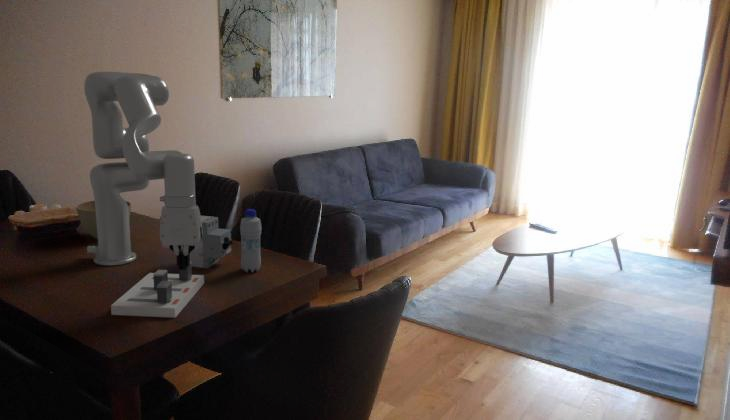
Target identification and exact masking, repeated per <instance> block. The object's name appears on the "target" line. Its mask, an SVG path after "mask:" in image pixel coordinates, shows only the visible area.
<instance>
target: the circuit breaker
mask: <svg viewBox="0 0 730 420" xmlns="http://www.w3.org/2000/svg"><path fill="white" fill-rule="evenodd" d="M200 216H201V221H202V230H203V239H202V242H203V247H201V248H198V249H193V250H192V251H191V252H190V261H192V268H193V267H195V268H204V269H209V268H210V267H212V266H213V265H215V264H216V263H218V262H220V259H222V258H223V257H225V256H226V255H228V254H229V253H231V252H232V245H233V244H234V240H232V230H231V229H227V228H219V217H218V216H210V215H209V216H207V215H200Z"/></svg>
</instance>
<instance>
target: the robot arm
mask: <svg viewBox="0 0 730 420" xmlns="http://www.w3.org/2000/svg"><path fill="white" fill-rule="evenodd" d="M83 87H84V95H85V98H86V101H87V103H88V107H89V109H90V110H89V111H90V114H91V123H92V143H93V151H94V153H95V155H96V156H97V157H98V158H100V159H104V160H117V159H119V160H120V159H125V161H122V162H121V161H118V162H106V163H105V162H104V163H101V164H99V163H98V164H97V165H95V166H93V167H92V168H91V169H90V173H89V180H90V186H91V188H92V193H93V198H94V199H93V200H94V201H95V209H96V222H97V236H98V239H97V246H94V245H87V247H86V253H87V254H90V255H91V254H94V255H95V256H94V257H93V262H94V263H95V264H96V265H100V266H120V265H125V264H129V263H131V262H132V263H133V262H134V261H135V260H137V253H136V252H133V251H132V245H131V243H132V242H131V228H130V217H129V208H128V205H127V203H126V201H127V200H125V199H124V198H123V197H122V196H121V194H122V193H128V192H136V191H143V190H145V189H147V188H148V186H149V185H150V181H156V180H164V195H162V196H159V202H161V203H164V206H162V207H161V212H160V221H159V222H160V223H159V225H160V226H159V240H160V243H161V247H162V248H166V249H169V250H171V252H173V253H174V255H175V256H176V266H178V271H179V270H186V269H187V268H188V266H189V265H190V252H191V251H192V250H193V249H198V248H201V247H203V242H202V239H203V230H202V221H201V216H202V215H201V212H200V208H199V205H197V203H196V202H197V200H196V199H197V198H196V197H197V196H196V178H195V175H196V174H195V159H194V157H193V155H191V154H189V153H184V152H181V151H179V150H177V149H176V150H175V149H174V150H168V149H167V150H151V151H150V144H149V138H148V136H147V135H149V134H151V133H152V132H154V131H155V130H157V129H158V127H159V126H160V125H161V122H162V117H161V115H160V113H159V111H158V109H157V106H159V107H160V106H164V105H165V104H167V102H168V100H169V98H170V92H169V88H168V85H167V83H166V82H165V80H163V78H162V77H160V76H158V75H151V74H146V73H140V72H139V73H136V72H121V71H120V72H119V71H95V72H92V73H91V72H90V73H89V74H88V75H87V76H86V77H85V80H84V86H83ZM116 102H118V104H119V106H120V107H119V106H118V105H117V103H116ZM121 110H122V111H121ZM123 115H124V117H125V120H126V121H127V124H128V127H124V119H123Z"/></svg>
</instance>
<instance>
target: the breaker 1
mask: <svg viewBox="0 0 730 420" xmlns="http://www.w3.org/2000/svg"><path fill="white" fill-rule="evenodd" d="M171 298H172V283H171V281H161V282H160V283H159V284H158V285H157V302H158V303H167V302H168V301H169V300H170V299H171Z"/></svg>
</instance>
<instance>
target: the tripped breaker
mask: <svg viewBox="0 0 730 420" xmlns="http://www.w3.org/2000/svg"><path fill="white" fill-rule="evenodd" d="M153 273H154V274H153V277H154V290H157V285H158V284H159V283H160V282H161V281H168V274H169V273H168V269H157V271H155V272H153Z"/></svg>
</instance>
